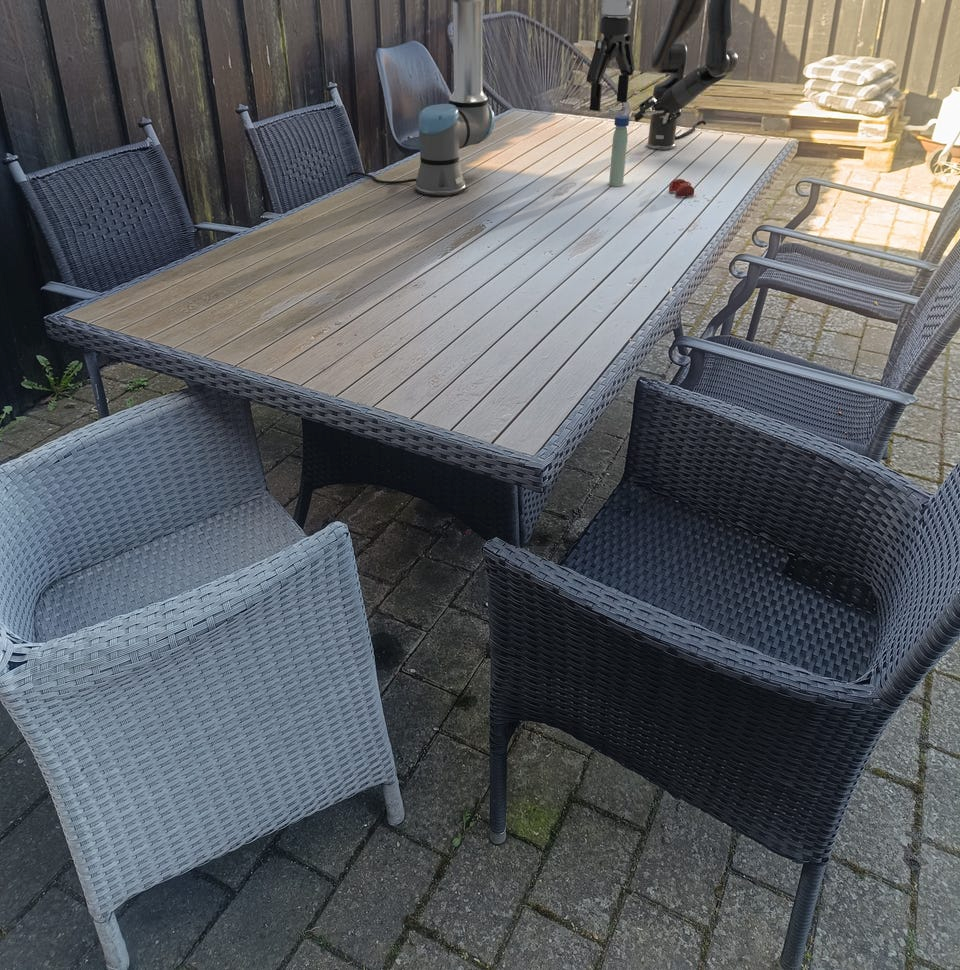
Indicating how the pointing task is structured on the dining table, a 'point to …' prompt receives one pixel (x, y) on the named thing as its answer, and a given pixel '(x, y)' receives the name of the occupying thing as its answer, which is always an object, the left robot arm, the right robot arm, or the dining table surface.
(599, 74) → the left robot arm
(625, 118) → the cap
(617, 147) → the bottle
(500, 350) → the dining table surface
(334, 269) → the dining table surface
